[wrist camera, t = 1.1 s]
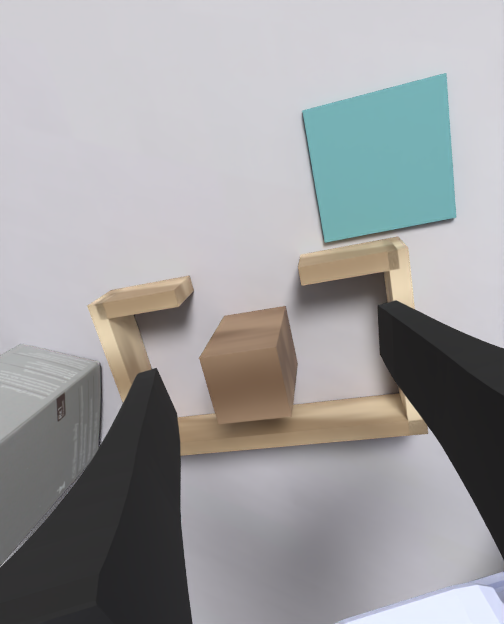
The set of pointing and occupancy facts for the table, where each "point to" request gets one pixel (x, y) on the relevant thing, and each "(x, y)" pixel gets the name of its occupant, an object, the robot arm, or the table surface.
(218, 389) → the walnut block
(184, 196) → the table surface
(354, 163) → the mat
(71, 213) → the table surface
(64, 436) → the skincare box
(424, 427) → the open wooden frame
